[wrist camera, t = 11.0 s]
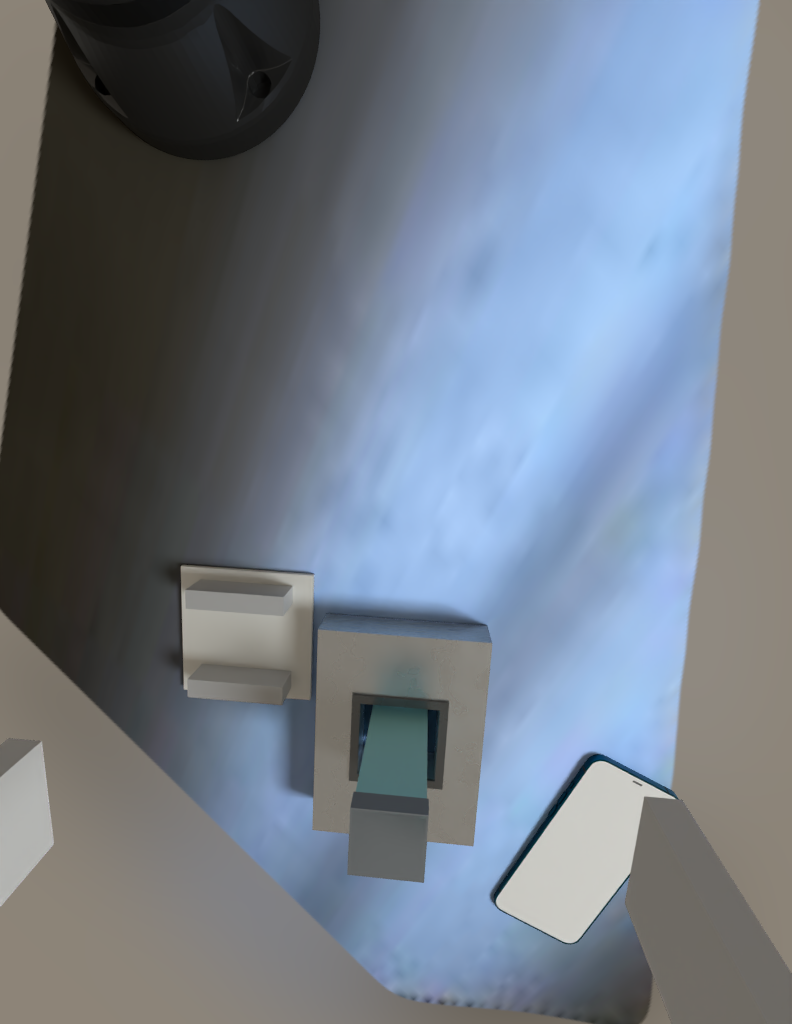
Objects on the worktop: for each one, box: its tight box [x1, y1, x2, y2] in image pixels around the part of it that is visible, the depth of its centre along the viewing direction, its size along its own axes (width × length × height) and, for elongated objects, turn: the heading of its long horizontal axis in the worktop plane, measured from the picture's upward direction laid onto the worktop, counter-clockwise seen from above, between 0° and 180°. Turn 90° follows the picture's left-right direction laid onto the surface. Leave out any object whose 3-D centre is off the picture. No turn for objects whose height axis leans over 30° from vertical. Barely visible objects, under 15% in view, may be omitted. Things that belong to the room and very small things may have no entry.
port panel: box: [313, 613, 492, 846], centre depth 37 cm, size 16×12×3 cm
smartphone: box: [494, 754, 678, 944], centre depth 40 cm, size 8×1×16 cm
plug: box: [347, 705, 429, 883], centre depth 33 cm, size 4×4×12 cm
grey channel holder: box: [181, 565, 314, 705], centre depth 37 cm, size 10×10×3 cm
